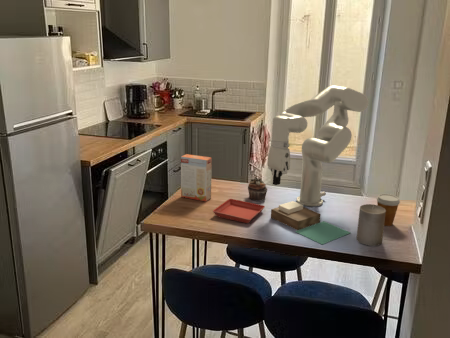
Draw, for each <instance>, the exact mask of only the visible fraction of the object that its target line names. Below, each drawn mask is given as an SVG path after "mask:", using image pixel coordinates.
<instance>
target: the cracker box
mask: <svg viewBox="0 0 450 338" xmlns="http://www.w3.org/2000/svg"><path fill="white" fill-rule="evenodd" d="M212 159H213V158H212V157H211V156H210V157H209V156H204V155H203V156H202V155H196V154H188V153H185V154H184V155H181V156H180V195H181V196H180V197H181V198H184V197H185V198H186V199H191V200H197V201H202V202H208V201H209V200H210V199H212V170H213V169H212V167H213V166H212V164H213V163H212ZM185 198H184V199H185Z"/></svg>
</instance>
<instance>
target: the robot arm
mask: <svg viewBox="0 0 450 338" xmlns="http://www.w3.org/2000/svg"><path fill="white" fill-rule="evenodd" d="M368 106H369V99H368V96H367V95H366V94H365V93H362V92H359V91H358V90H355V89H352V88H350V87H347V86H339V85H329V86H327V87H325V88H324V89H323V90H321V91H320V92H319V93H317V94H316V95H314V96H313V97H312V98H311V99H308V100H304V101H302V102H299V103H295V104H292V105H291V106H290V107H287V108H286V109H285V110H283V111H282V112H281V113H280V114H279V115H275V116H274V117H273V118H272V129H271V139H270V142H271V143H270V146H269V150H268V155H267V161H266V162H267V169H268V170H270V171H271V174H272V176H273V177H272V185H274V186H278V185H281V178H282V176H283V175H287V174H288V171H289V170H290V169H291V168H290V167H291V151H290V148H289V147H290V144H289V141H290V133H296V134H301V133H303V132H305V130H306V129H307V128H308V121H307V119H306V118H309V117H310V118H312V117H313V118H314V117H318V116H319V117H320V116H322V115H323V114H324V113H325V112H327V111H328V110H329V109H330V108H332V107H333V112H332V115H331V116H330V117H329V119H327V121H325V123H324V124H323V125H322V126H321V127H320V129H318V131H317V138H316V137H308V138H306V139H305V140H304V141H303V142H302V145H301V156H302V157H301V158H302V167H301V168H302V169H301V180H300V190H299V191H300V192H299V193H300V194H299V196H297V197H296V201H295V202H297V203H299V204H302V205H303V207H304V206H305V207H319V206H322V205H323V203H324V200H323V199H322V197H324V196H326V195H327V194H326V191H322V180H323V179H322V178H323V169H324V168H323V163H326V164H329V163H333V162H334V161H335V160H336V159H337V158H338V157H339V156H340V155H341V154H342V152H344V150H346V148H347V147H348V146H349V144H350V143H351V140H352V131H351V130H350V128H349V127H347V126H348V124H349V115H348V111H351V112H355V113H362V112H363V111H365V110H367V108H368ZM321 191H322V192H321Z"/></svg>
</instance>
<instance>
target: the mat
mask: <svg viewBox="0 0 450 338" xmlns="http://www.w3.org/2000/svg"><path fill="white" fill-rule="evenodd" d="M294 232H295V233H297V234H299V235H301V236H303V237H305V238H307V239H309V240H311V241H314V242H316V243H317V244H320V245H325V244H327V243H330V242H332V241H335V240H337V239H340V238H343V237H344V236H347V235H349V234H351V231H348V230H346V229H344V228H340V227H339V226H337V225H334V224H331V223H329V222H327V221H320V223H317V224H314V225H311V226H308V227H306V228H303V229H300V230H296V231H294Z"/></svg>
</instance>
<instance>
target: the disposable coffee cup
mask: <svg viewBox="0 0 450 338" xmlns="http://www.w3.org/2000/svg"><path fill="white" fill-rule="evenodd" d="M376 201H377V204H376V205H378V206H381V207H383V208H384V209H385V210H386V213H385V222H384V227H391V226H393V225H394V221H395V217H396V214H397V211H398V208H399V205H400V203H401V201H400V197H398V196H396V195H394V194H390V193H389V194H388V193H381V194H378V195H377V197H376Z"/></svg>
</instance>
